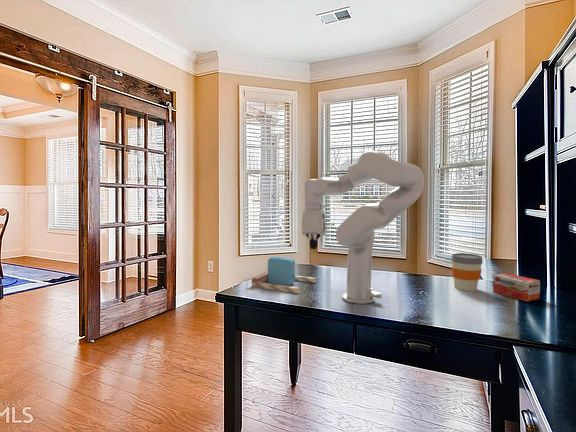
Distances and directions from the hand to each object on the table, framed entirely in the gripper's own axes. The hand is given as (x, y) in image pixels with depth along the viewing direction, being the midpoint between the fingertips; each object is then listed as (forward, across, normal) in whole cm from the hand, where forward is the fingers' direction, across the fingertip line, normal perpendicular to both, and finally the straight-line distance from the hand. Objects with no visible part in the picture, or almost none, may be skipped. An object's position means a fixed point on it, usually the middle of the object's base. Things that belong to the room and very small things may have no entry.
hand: (313, 248), depth 159 cm
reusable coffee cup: (+20, -61, -32) cm, 72 cm away
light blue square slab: (+18, +17, -1) cm, 24 cm away
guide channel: (+17, +15, 0) cm, 23 cm away
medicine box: (+20, -80, -30) cm, 88 cm away
